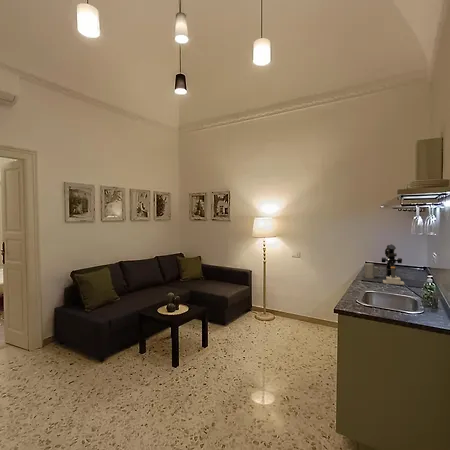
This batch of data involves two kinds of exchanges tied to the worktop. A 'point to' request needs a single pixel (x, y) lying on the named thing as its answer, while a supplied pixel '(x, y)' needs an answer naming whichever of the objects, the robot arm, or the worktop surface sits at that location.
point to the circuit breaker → (370, 270)
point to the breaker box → (393, 280)
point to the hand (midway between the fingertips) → (392, 266)
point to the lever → (392, 271)
